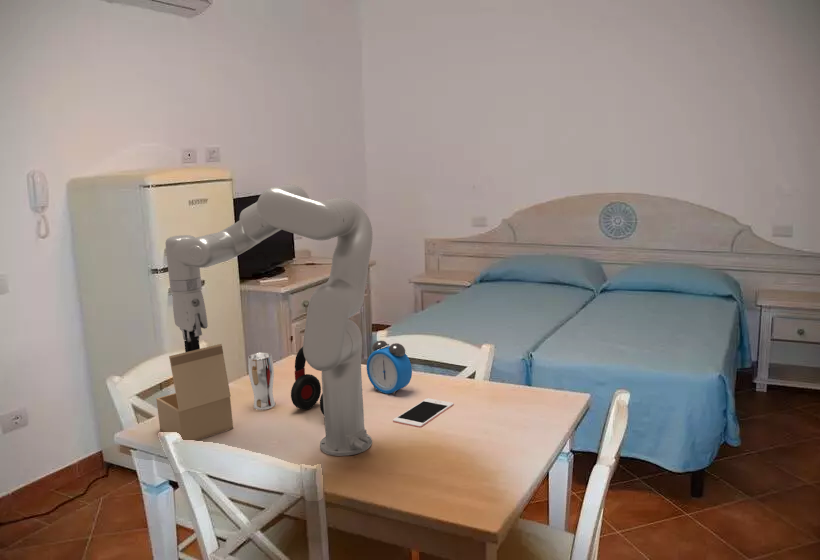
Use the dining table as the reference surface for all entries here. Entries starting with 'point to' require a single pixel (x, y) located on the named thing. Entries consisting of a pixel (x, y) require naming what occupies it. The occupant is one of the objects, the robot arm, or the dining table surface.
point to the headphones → (305, 386)
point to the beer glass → (261, 380)
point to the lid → (199, 377)
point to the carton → (194, 418)
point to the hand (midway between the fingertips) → (193, 354)
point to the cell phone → (423, 412)
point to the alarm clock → (388, 367)
